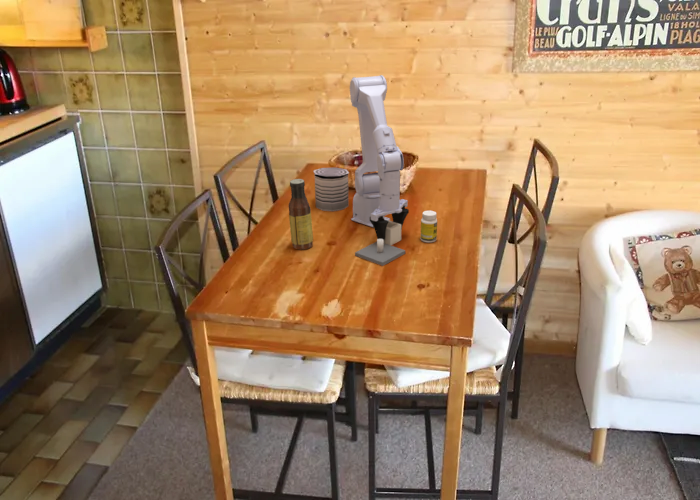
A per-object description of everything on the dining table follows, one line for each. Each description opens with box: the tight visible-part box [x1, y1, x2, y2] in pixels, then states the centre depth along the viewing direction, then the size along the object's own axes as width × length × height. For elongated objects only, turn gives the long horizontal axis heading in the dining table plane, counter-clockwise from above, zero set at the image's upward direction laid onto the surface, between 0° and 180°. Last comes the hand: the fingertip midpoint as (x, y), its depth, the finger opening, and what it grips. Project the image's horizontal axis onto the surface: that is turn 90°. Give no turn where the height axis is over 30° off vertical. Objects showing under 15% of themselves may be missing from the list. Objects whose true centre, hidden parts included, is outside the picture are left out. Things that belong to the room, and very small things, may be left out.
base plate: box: [354, 239, 406, 267], centre depth 199 cm, size 10×10×4 cm
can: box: [313, 167, 350, 212], centre depth 231 cm, size 11×11×12 cm
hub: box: [384, 220, 402, 246], centre depth 207 cm, size 5×5×5 cm
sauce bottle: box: [288, 178, 314, 251], centre depth 201 cm, size 7×6×20 cm
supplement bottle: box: [419, 210, 438, 243], centre depth 206 cm, size 5×5×8 cm
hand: (389, 236), depth 207 cm, fingers open, 7 cm apart
